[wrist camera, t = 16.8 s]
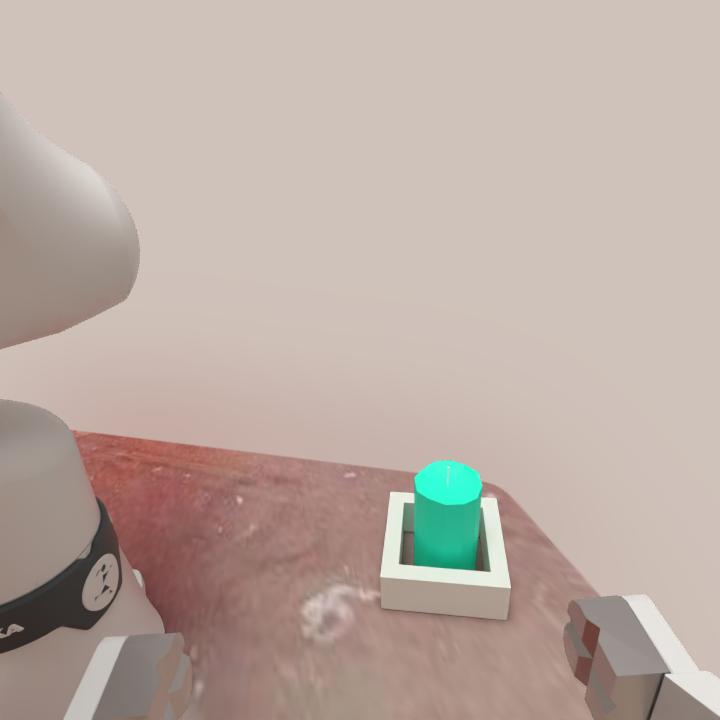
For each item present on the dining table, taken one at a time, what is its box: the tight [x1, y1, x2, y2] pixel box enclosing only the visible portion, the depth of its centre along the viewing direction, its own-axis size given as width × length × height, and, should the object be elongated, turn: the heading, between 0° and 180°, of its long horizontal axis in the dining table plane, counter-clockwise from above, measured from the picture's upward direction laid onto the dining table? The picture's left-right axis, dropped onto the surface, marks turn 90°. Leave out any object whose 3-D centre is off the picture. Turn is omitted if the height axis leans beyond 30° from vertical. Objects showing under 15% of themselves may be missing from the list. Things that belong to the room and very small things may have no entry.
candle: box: [414, 460, 482, 571], centre depth 45 cm, size 6×6×12 cm
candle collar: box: [380, 492, 511, 620], centre depth 47 cm, size 11×11×4 cm
